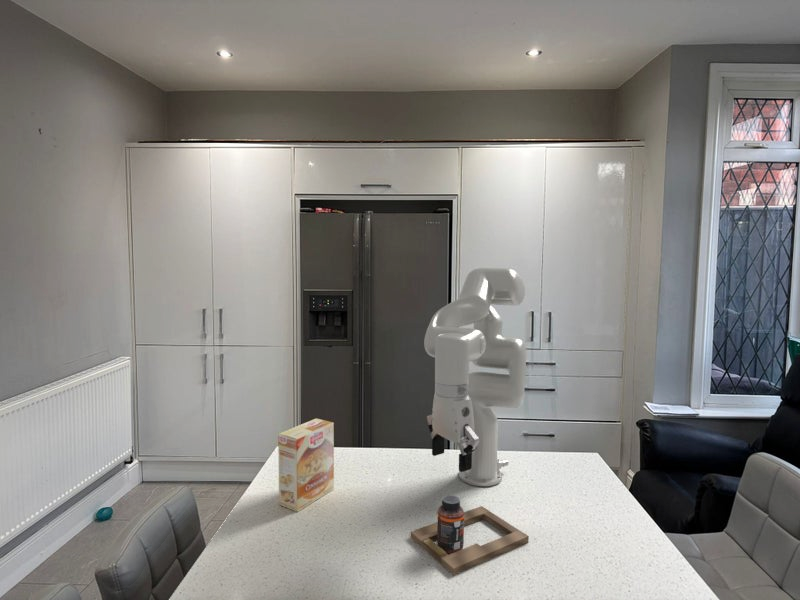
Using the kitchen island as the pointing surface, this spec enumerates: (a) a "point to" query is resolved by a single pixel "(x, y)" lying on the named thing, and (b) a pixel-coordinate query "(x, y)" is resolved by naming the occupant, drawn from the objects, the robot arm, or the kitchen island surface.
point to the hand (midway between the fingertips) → (451, 461)
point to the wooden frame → (475, 552)
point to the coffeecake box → (306, 463)
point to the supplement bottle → (450, 525)
